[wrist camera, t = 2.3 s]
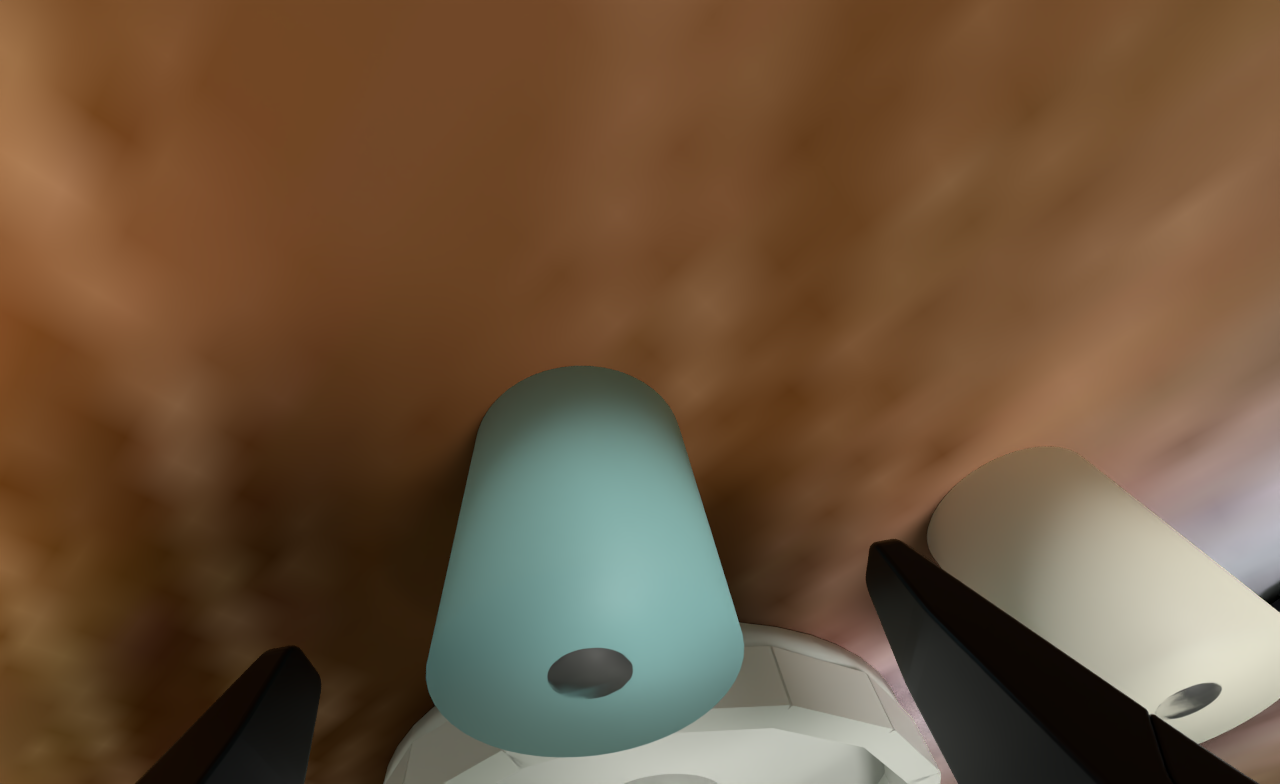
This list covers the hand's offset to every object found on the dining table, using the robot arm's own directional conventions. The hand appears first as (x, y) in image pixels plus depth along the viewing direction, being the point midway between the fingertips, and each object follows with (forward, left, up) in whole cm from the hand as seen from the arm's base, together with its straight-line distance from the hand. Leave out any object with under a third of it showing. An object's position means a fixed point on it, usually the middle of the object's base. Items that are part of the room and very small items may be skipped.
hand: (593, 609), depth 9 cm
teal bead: (0, 0, -4) cm, 4 cm away
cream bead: (-11, -3, -4) cm, 12 cm away
